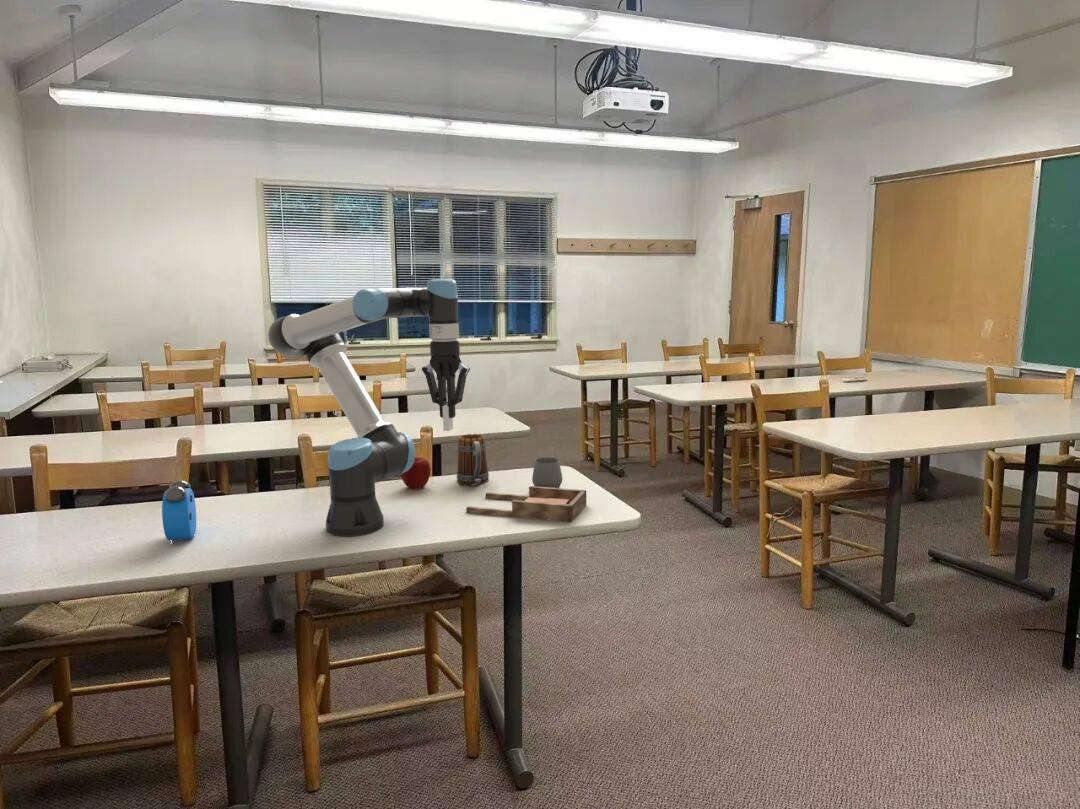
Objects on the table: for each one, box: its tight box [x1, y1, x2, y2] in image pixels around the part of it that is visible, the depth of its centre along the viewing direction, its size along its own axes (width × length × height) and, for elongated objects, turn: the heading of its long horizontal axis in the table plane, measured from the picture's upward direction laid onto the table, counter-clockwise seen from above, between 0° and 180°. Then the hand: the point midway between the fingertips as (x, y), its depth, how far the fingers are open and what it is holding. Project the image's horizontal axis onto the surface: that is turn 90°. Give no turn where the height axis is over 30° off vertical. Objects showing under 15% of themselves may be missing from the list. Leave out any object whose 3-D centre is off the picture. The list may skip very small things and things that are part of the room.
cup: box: [531, 456, 563, 488], centre depth 221 cm, size 10×9×10 cm
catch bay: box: [465, 485, 587, 523], centre depth 204 cm, size 31×15×4 cm, turn 72°
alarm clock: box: [161, 479, 197, 542], centre depth 184 cm, size 13×6×15 cm, turn 18°
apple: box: [400, 456, 431, 490], centre depth 227 cm, size 10×10×10 cm
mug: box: [456, 433, 490, 486], centre depth 231 cm, size 16×11×15 cm
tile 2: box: [545, 498, 569, 504], centre depth 202 cm, size 6×6×3 cm
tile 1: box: [525, 497, 548, 502], centre depth 203 cm, size 6×6×3 cm
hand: (448, 429), depth 187 cm, fingers closed
